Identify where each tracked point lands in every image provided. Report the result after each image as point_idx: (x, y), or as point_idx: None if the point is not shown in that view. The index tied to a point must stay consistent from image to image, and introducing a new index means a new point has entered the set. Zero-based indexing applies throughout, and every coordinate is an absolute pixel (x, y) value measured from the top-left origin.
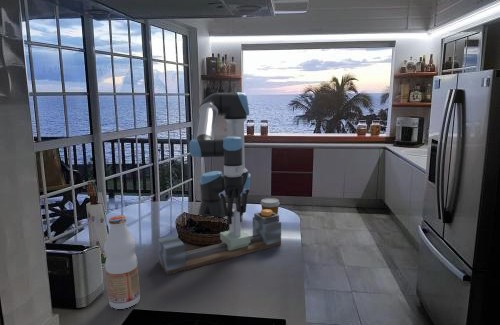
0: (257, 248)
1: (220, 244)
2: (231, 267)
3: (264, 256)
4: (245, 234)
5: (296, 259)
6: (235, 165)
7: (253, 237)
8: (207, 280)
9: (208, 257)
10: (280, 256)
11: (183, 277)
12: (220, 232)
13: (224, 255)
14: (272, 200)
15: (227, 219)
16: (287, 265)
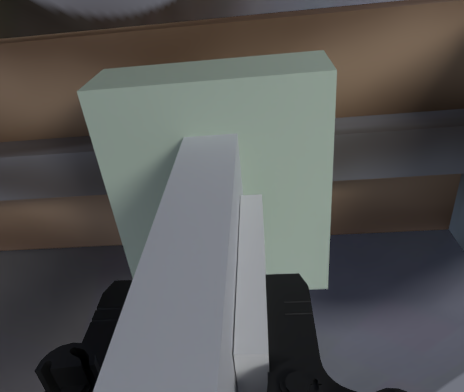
0: (358, 229)
1: (89, 161)
2: None
3: (344, 288)
4: (308, 248)
5: (458, 366)
6: None
7: (413, 158)
8: (3, 349)
9: (2, 222)
10: (418, 320)
11: None
12: (83, 90)
13: (108, 240)
14: None
15: (88, 329)
16: (378, 384)
